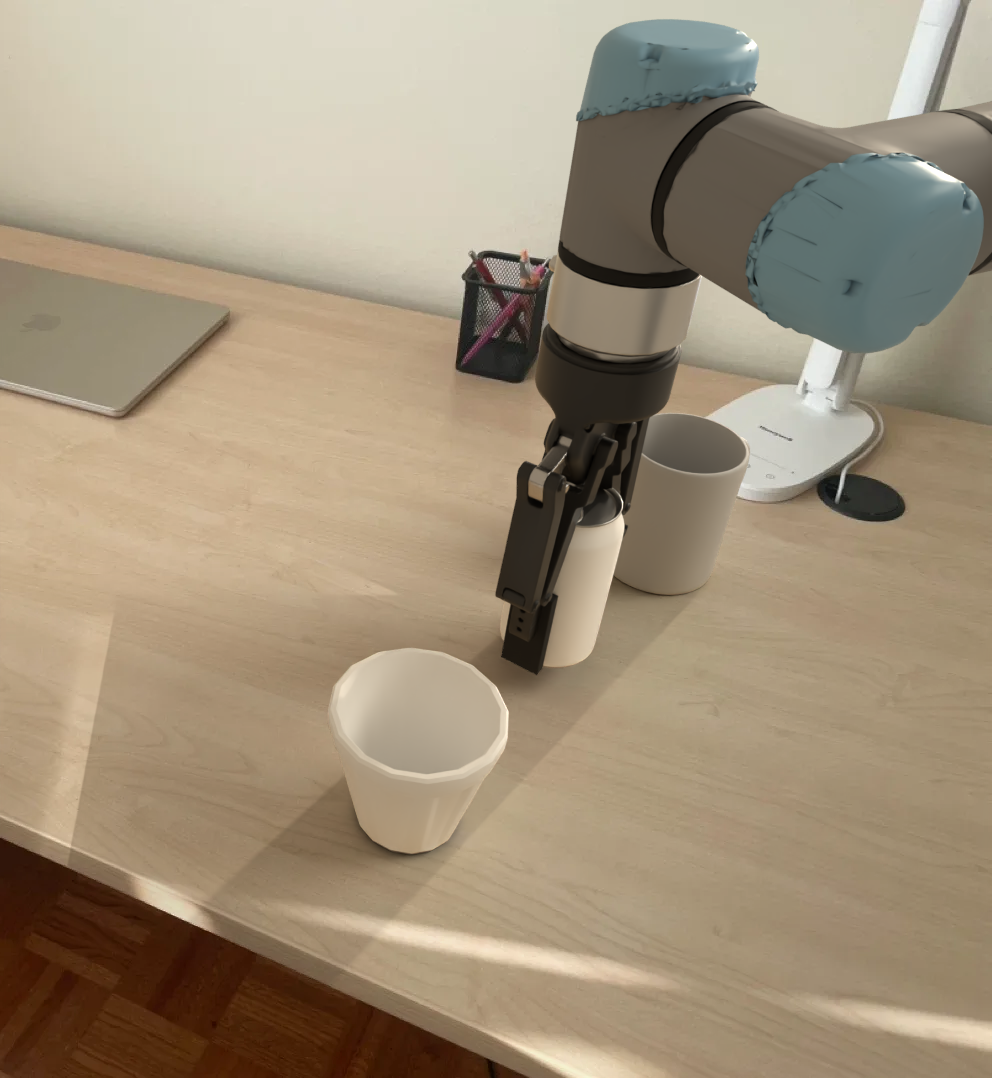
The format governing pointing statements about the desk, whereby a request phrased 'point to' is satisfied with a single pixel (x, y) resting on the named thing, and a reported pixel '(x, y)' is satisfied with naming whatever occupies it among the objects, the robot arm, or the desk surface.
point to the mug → (680, 503)
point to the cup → (415, 743)
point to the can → (583, 581)
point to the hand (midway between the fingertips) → (547, 633)
